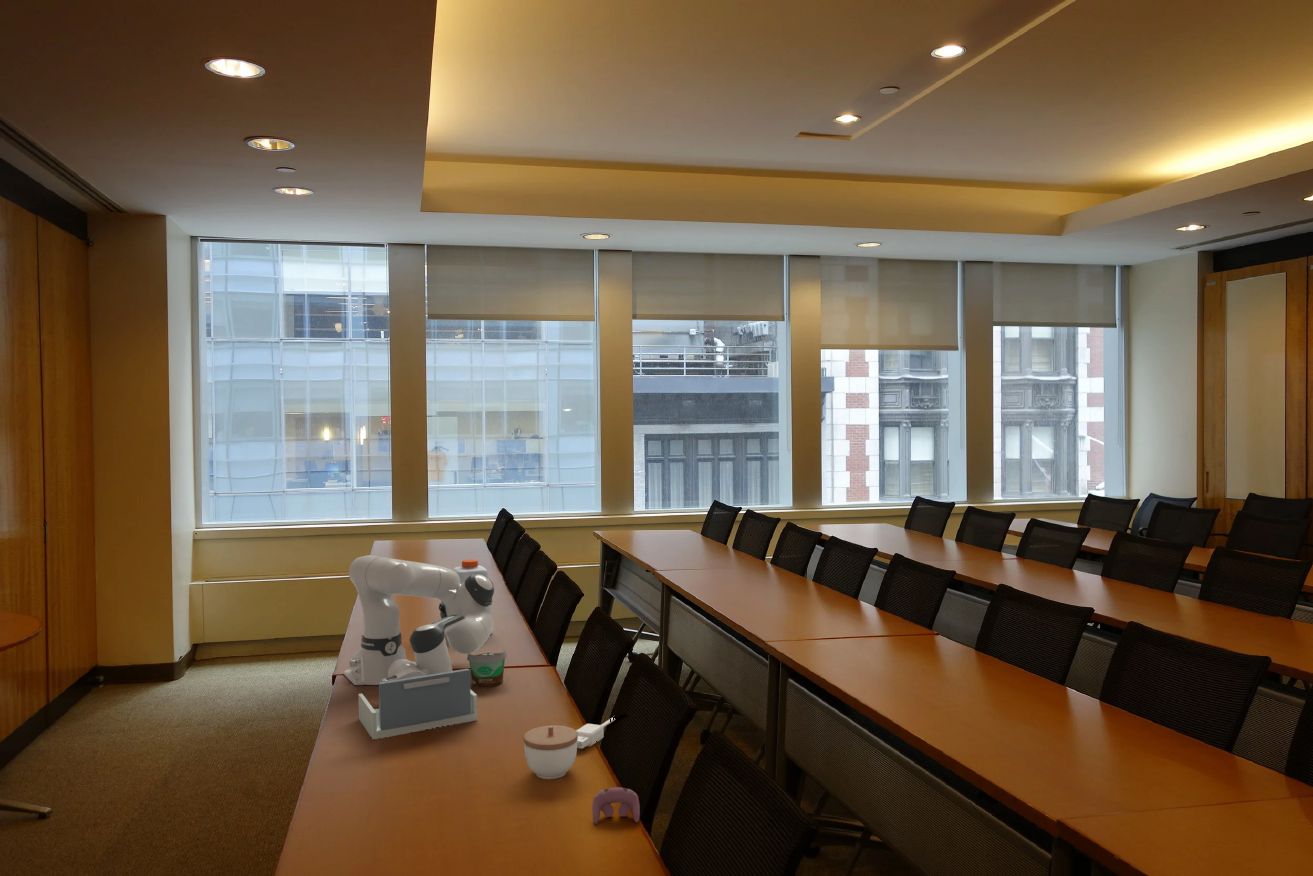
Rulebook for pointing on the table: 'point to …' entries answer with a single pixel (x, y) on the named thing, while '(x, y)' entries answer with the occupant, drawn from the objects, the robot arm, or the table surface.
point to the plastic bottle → (469, 569)
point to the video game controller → (616, 796)
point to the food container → (487, 669)
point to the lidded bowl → (550, 750)
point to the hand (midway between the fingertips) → (425, 699)
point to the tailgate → (424, 698)
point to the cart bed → (372, 724)
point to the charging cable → (591, 734)
